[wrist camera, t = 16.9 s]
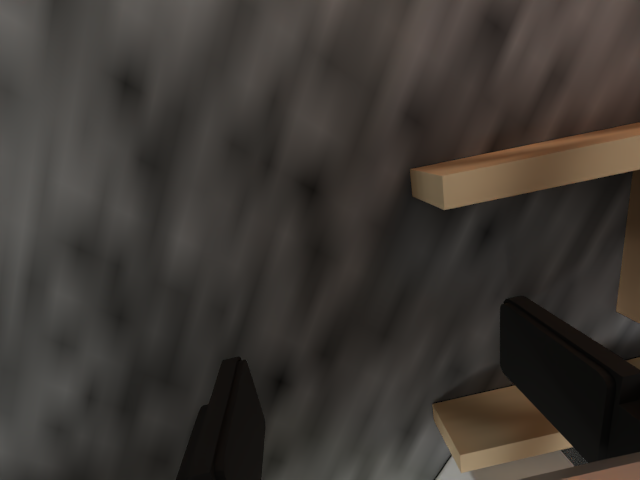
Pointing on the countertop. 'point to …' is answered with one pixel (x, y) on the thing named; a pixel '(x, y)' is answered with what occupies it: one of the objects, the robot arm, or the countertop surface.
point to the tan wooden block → (631, 257)
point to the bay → (494, 183)
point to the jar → (509, 468)
